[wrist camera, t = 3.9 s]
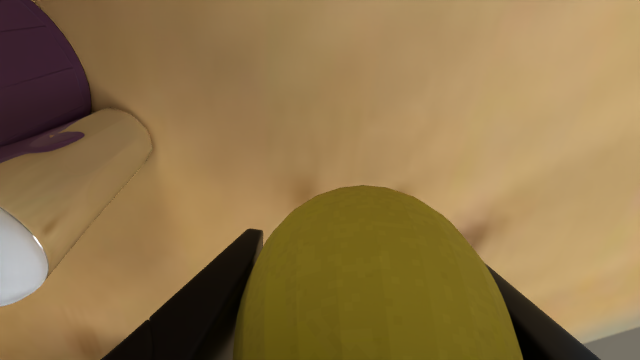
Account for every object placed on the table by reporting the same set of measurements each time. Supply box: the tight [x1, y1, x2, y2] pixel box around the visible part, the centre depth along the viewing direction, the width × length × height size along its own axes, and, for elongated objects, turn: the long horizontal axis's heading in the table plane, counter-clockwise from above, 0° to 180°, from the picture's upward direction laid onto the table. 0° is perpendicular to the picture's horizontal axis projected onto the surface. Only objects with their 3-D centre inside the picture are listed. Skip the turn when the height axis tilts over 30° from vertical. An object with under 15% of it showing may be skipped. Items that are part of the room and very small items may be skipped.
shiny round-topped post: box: [0, 107, 153, 306], centre depth 12 cm, size 4×5×10 cm
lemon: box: [233, 185, 523, 360], centre depth 7 cm, size 6×6×8 cm
